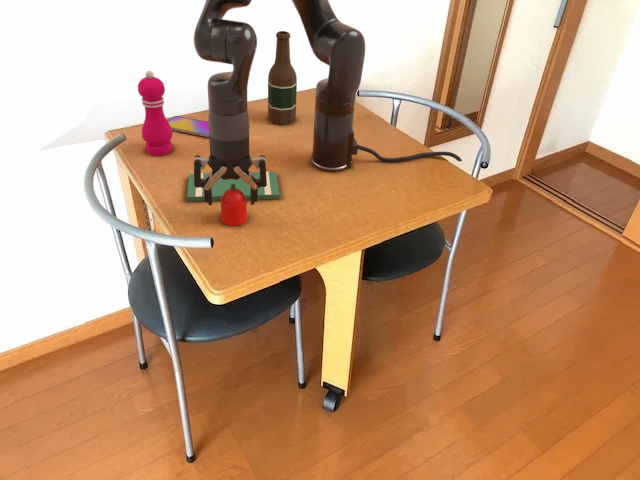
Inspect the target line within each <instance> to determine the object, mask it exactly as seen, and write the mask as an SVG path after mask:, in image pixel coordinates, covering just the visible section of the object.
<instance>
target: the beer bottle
mask: <svg viewBox="0 0 640 480" xmlns="http://www.w3.org/2000/svg"><path fill="white" fill-rule="evenodd" d="M275 37H276V46H275V57H274V58H275V59H274V63H273V64H272V66H271V67H270V69H269V72H268V75H267V118H268V119H269V121H270V122H271V123H272V124H275V125H278V126H287V125H292V123H293V122H295V121H296V115H297V93H298V90H297V89H298V79H297V78H298V77H297V73H296V70H295V69H294V67H293V65H292V62H291V49H290V48H291V47H290V38H291V33H290V32H289V31H286V30H279V31H277V32H276V34H275Z"/></svg>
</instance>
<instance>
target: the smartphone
mask: <svg viewBox="0 0 640 480" xmlns="http://www.w3.org/2000/svg"><path fill="white" fill-rule="evenodd" d="M167 121H168V123H169V124H170V126H171V129H172V131H174V132H180V133H183V134H184V133H185V134H190V135H195V136H201V137H205V138H209V128H208V120H202V119H196V118H190V117H185V116H180V115H174V116H172V118H170V119H168V120H167Z"/></svg>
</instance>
